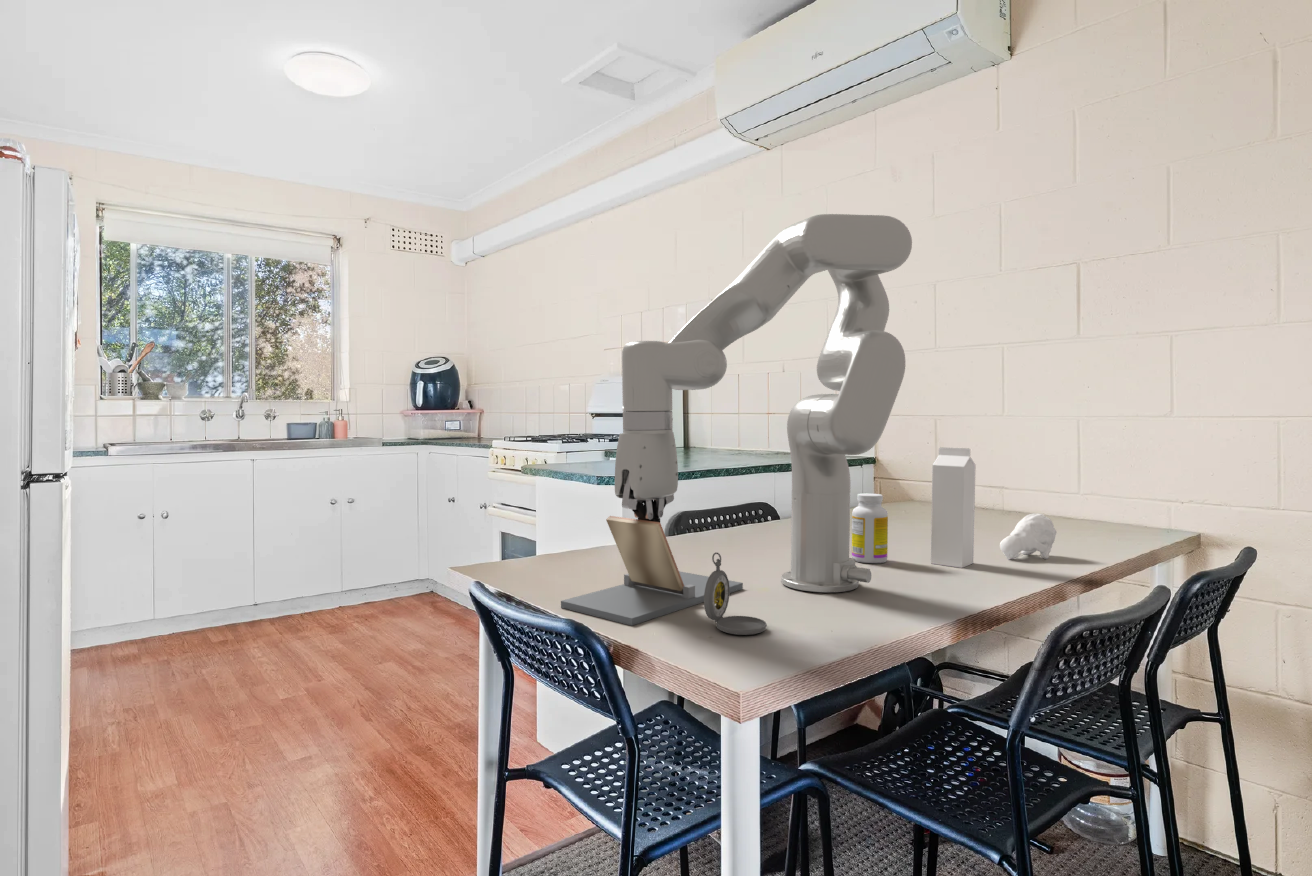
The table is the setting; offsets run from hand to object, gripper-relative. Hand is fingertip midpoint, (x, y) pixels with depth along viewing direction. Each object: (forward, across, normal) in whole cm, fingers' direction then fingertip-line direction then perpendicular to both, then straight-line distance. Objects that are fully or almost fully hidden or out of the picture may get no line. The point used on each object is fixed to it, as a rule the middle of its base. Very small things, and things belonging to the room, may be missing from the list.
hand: (649, 543), depth 115 cm
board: (+9, -2, 0) cm, 9 cm away
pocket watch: (+9, +4, +18) cm, 20 cm away
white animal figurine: (+10, -74, +34) cm, 82 cm away
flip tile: (+1, 0, 0) cm, 2 cm away
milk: (+10, -59, +25) cm, 64 cm away
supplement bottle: (+10, -50, +12) cm, 53 cm away
